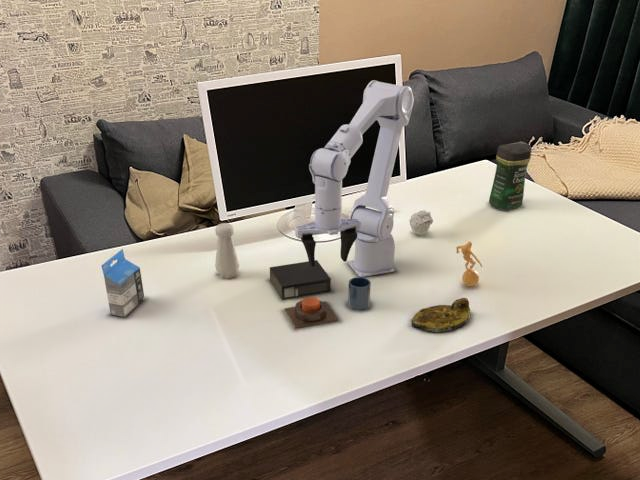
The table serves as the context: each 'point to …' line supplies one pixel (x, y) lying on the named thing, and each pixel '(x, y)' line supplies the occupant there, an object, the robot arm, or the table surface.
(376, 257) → the robot arm
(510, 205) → the coffee jar
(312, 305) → the button
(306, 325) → the control pad
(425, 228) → the crumpled paper ball
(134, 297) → the blue and grey carton
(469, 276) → the figurine
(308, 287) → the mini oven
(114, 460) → the table surface
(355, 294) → the cup
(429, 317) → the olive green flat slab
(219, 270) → the salt shaker
